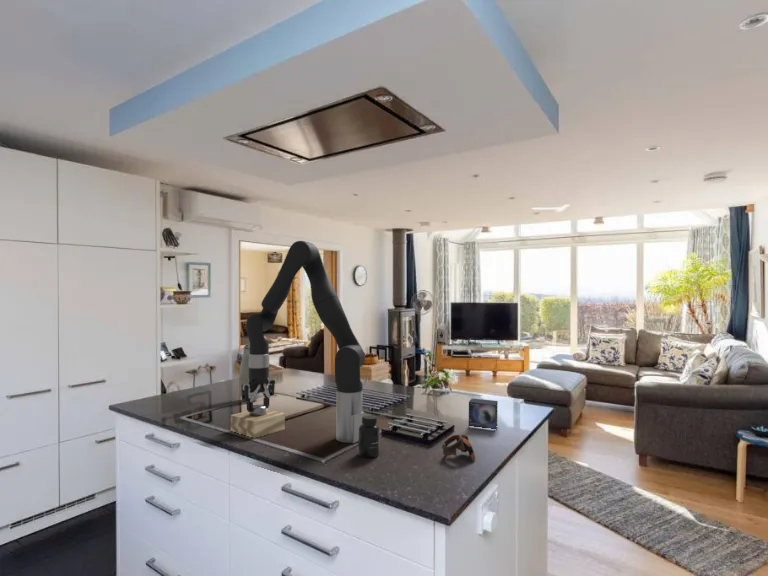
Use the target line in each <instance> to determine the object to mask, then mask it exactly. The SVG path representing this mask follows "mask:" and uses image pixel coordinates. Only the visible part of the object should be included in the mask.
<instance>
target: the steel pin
mask: <svg viewBox="0 0 768 576" xmlns="http://www.w3.org/2000/svg"><path fill="white" fill-rule="evenodd" d="M266 409H267V408H266V405H263V404H261V403H260V404H253V412H250V416H254V417H258V416H264V415H266Z"/></svg>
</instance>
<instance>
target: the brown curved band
mask: <svg viewBox="0 0 768 576" xmlns="http://www.w3.org/2000/svg"><path fill="white" fill-rule="evenodd" d="M455 441H456V442H455ZM452 442H455V443H454V444H452V445H450V446H449V444H451V443H452ZM441 448H442V449H443V450H442V455H444V457H447V456H451V455H453V456H457V450H459V451H461V452H462V453H467V452H468V456H469V455H470V456H469V457H470V459H471V462H472V461H474V462H475V461H476V456H475V451H474V448H473V446H472V444H471V442H470V440H469V437H468V436H467V435H466V434H454V435H451V436H450V437H448V438H447V439H445V440H444V442H443V444H442V445H441Z"/></svg>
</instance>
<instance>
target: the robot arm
mask: <svg viewBox="0 0 768 576" xmlns="http://www.w3.org/2000/svg"><path fill="white" fill-rule="evenodd" d="M302 268H303V270H304V272H305V273H306V276H307V278H308V280H309V283H310V295H311V299H312V301H311V302H312V304H313V306H314V309H315V311H316V314H317V315H318V318H319V319H320V320H321V322H322V324H323V325H324V327H326V329H327V330H328V331H329V333H330V334H331V335H332V336H333V338H334V340H335V343H336V344H337V347H338V350H337V351H336V353H335V356H334V357H335V358H334V382H335V386H336V414H335V415H336V417H335V419H336V420H335V421H336V422H335V423H336V425H335V427H336V429H335V431H336V432H335V433H336V434H335V435H336V436H335V439H336V440H337V442H339V443H340V442H341V443H347V444H355V443H358V439H359V427H360V426H361V425H362V417H363V416H366V415H365V411H363V387H364V386H363V382H362V380H361V368H362V367H363V365H364V364H365V360H366V357H365V351H364V349H363V347H362V345H361V344H360V343H359V340H358V339H357V337H356V336H355V334H354V332H353V330H352V328H351V325H350V323H349V320H348V317H347V315H346V313H345V311H344V308H343V306H342V303H341V301H340V299H339V297H338V294H337V292H336V290H335V289H334V286H333V284H332V281H331V280H330V277H329V276H328V274H327V271H326V268H325V265H324V262H323V259H322V256H321V253H320V251H319V249H318V247H317V246H316V245H315V244H314V243H313V242H309V241H305V240H298V241H294V242H293V243H292V245H290V246H289V248H288V251H287V253H286V255H285V258H284V260H283V263H282V265H281V267H280V270H279V272H278V273H277V275H276V278H275V280H274V281H273V283H272V285H271V287H270V288H269V289H268V291H267V293H266V295H265V296H264V297H263V299H262V300H261V308H262V309H261V311H260V312H258V313H254V312H253V313H252V314H250V315H249V316H248V317H247V319H246V323H245V329H246V334H247V338H248V341H249V343H250V354H249V373H248V378H249V383H248V384H246V385H244V384H242V386H241V388H242V397H241V401H244V402H246V411H248V412H253V405H254V401H253V399H254V397H255V396H256V394H257V393H260V392H261V394H262V396H263V400H262V401H263V404H262V405H266V409H269V407H270V399H271V397H272V396H274V395H275V388H276V387H275V386H276V384H275V383H276V381H275V380H274V379H269V378H270V355H269V354H270V353H269V352H270V348H269V347H270V344H269V343H270V342H269V340H268V338H266V337H265V334H264V332H266V331H268V330H269V329H271V328H272V327H273V325H274V323H275V321H276V318H277V316H278V313H279V312H278V311H280V308H281V307H282V306H283V305H284V303H285V301H286V300H287V298H288V295H289V293H290V290H291V286H292V283H293V280H294V278H295V277H296V276H297V274H298V272H299V271H300V270H301V269H302ZM249 388H250V390H249ZM248 390H249V392H248ZM252 392H253V393H252Z"/></svg>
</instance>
